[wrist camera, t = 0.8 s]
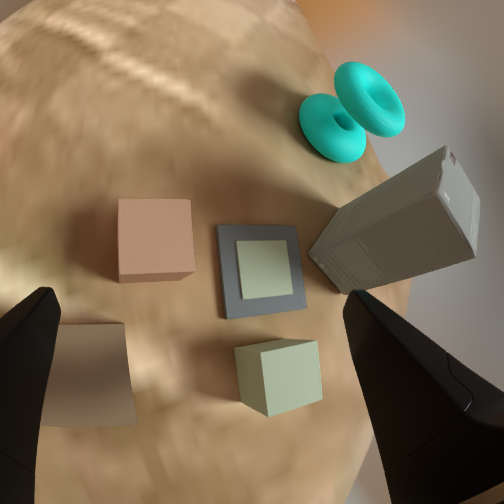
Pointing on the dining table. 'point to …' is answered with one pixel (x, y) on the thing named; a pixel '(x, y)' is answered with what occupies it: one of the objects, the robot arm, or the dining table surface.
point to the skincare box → (402, 227)
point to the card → (259, 270)
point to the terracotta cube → (154, 240)
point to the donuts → (351, 113)
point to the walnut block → (89, 378)
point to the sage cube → (278, 375)
